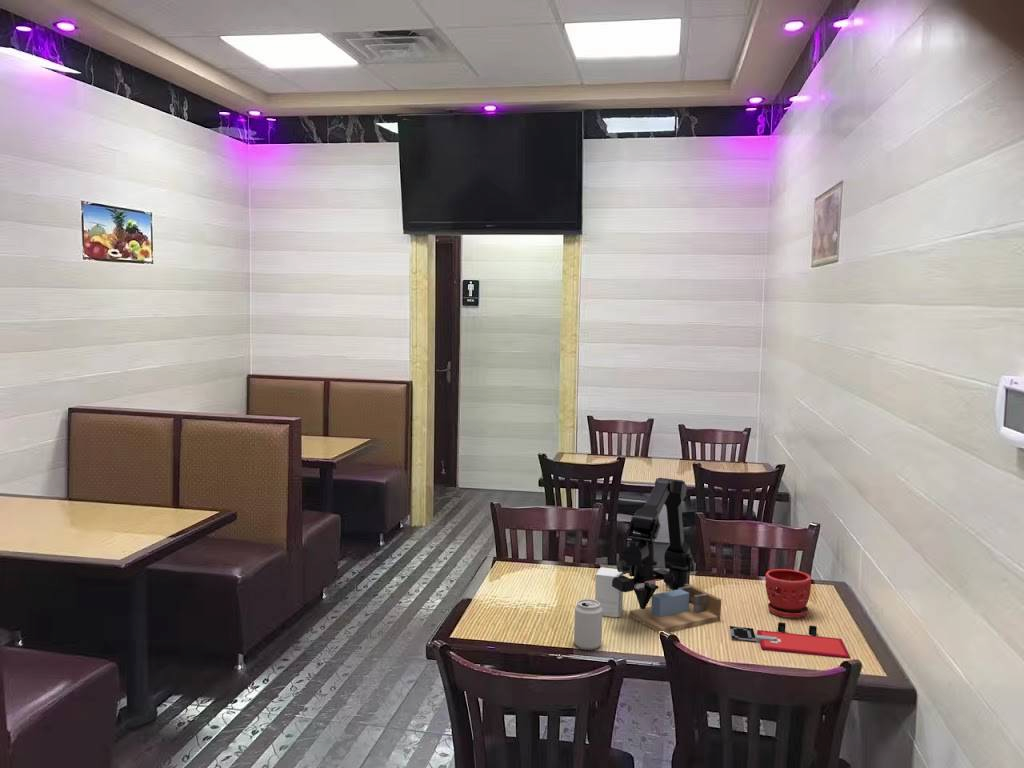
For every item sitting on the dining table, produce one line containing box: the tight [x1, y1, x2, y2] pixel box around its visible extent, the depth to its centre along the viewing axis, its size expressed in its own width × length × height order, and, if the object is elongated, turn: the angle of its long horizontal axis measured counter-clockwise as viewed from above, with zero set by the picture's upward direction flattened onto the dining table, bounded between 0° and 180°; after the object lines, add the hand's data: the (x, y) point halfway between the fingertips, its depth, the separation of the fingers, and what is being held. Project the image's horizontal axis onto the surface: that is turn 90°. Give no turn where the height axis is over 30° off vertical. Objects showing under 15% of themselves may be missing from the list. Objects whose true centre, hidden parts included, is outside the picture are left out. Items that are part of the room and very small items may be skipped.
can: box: [573, 598, 603, 651], centre depth 210 cm, size 8×8×12 cm
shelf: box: [629, 583, 722, 633], centre depth 231 cm, size 22×15×6 cm
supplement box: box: [594, 566, 624, 618], centre depth 234 cm, size 7×7×13 cm
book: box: [650, 589, 689, 617], centre depth 232 cm, size 11×4×6 cm, turn 118°
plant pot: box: [765, 568, 812, 619], centre depth 236 cm, size 13×13×12 cm
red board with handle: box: [729, 621, 851, 660], centre depth 215 cm, size 30×3×15 cm
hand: (642, 608), depth 227 cm, fingers closed
